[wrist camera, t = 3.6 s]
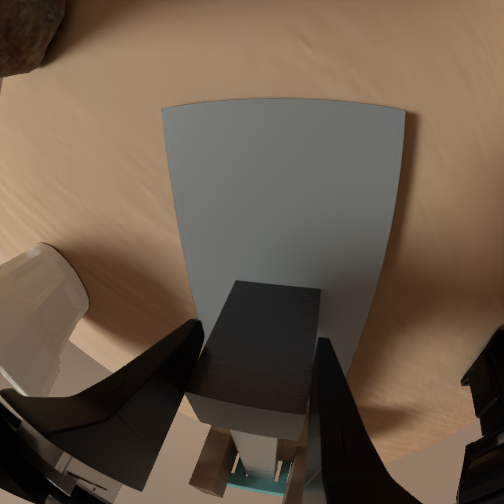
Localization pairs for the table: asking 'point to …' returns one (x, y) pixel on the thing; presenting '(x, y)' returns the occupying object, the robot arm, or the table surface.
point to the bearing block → (224, 454)
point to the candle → (27, 33)
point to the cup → (37, 317)
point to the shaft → (258, 370)
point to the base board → (286, 202)
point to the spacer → (259, 480)
